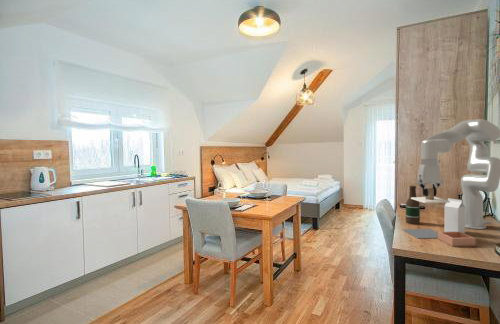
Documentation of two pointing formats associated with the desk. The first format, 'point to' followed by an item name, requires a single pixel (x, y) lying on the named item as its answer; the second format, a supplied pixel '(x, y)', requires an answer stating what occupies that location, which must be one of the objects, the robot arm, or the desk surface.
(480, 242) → the desk surface
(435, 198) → the cover
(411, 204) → the beer bottle
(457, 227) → the milk carton
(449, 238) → the terracotta square tray
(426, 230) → the mat
